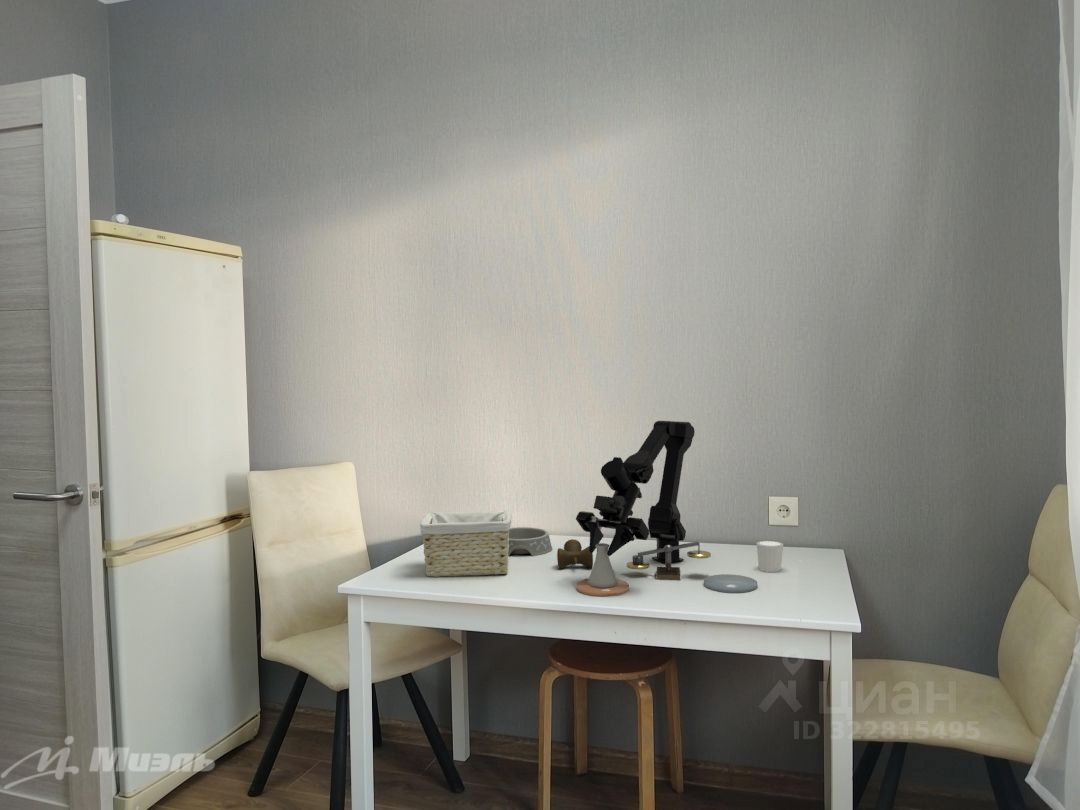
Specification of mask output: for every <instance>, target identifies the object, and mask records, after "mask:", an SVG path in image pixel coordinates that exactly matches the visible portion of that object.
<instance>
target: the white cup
mask: <svg viewBox="0 0 1080 810" xmlns="http://www.w3.org/2000/svg"><path fill="white" fill-rule="evenodd" d="M783 551H784V543H783V542H780V541H777V540H776V541H775V540H760V541H757V542H756V553H757V562H758V570H760V571H761V572H766V573H767V572H768V573H776V572H781V570H782V561H783Z"/></svg>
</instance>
